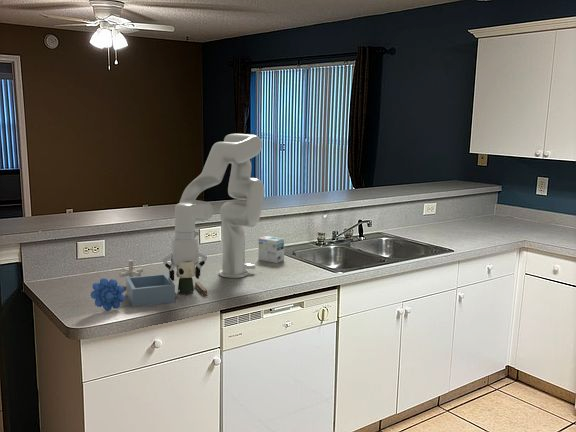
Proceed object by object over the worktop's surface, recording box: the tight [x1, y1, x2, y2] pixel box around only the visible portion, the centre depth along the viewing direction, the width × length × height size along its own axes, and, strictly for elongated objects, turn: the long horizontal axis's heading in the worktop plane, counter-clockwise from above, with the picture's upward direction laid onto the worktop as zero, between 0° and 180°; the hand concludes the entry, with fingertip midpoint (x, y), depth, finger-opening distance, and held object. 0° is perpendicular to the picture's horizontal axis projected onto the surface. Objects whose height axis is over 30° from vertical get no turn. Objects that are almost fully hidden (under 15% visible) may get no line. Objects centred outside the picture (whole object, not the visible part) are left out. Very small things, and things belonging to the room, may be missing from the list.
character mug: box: [175, 261, 196, 294], centre depth 222 cm, size 11×7×13 cm, turn 38°
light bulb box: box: [257, 235, 285, 264], centre depth 272 cm, size 11×7×11 cm, turn 58°
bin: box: [125, 273, 176, 308], centre depth 215 cm, size 15×15×7 cm
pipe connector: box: [118, 259, 144, 278], centre depth 230 cm, size 10×10×10 cm
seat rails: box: [175, 280, 208, 300], centre depth 223 cm, size 14×12×2 cm
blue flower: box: [90, 277, 126, 312], centre depth 200 cm, size 12×7×12 cm, turn 119°
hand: (184, 278), depth 222 cm, fingers open, 9 cm apart
